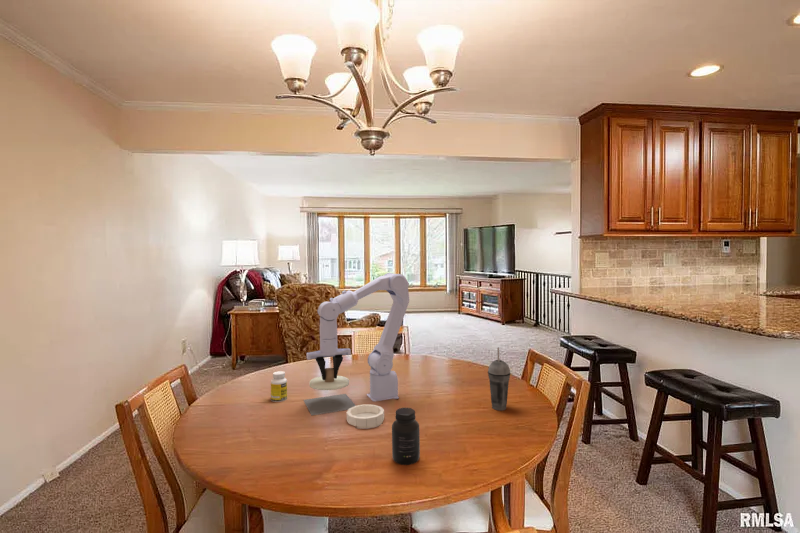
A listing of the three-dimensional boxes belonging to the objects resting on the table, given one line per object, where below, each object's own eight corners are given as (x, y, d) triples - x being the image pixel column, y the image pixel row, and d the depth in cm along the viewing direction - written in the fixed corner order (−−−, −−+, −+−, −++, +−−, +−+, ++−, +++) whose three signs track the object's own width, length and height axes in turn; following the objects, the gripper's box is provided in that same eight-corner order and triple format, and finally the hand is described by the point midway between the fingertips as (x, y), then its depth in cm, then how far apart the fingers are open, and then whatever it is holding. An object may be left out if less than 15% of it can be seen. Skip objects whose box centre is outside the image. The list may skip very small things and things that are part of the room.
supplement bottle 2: (391, 452, 104) (390, 406, 104) (417, 451, 105) (417, 405, 105) (393, 466, 97) (392, 416, 97) (421, 465, 98) (421, 415, 98)
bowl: (376, 411, 132) (376, 402, 131) (389, 424, 121) (388, 414, 121) (343, 417, 127) (342, 407, 127) (353, 431, 117) (353, 420, 117)
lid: (343, 376, 146) (343, 362, 145) (353, 387, 134) (353, 372, 134) (306, 380, 141) (306, 366, 140) (313, 392, 129) (313, 376, 128)
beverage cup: (512, 405, 135) (512, 345, 135) (508, 413, 129) (508, 350, 128) (490, 402, 138) (490, 343, 138) (485, 410, 132) (485, 348, 131)
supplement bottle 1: (282, 404, 139) (282, 375, 139) (268, 403, 140) (267, 374, 140) (290, 398, 145) (289, 370, 144) (275, 397, 146) (275, 370, 145)
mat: (345, 395, 147) (345, 393, 147) (357, 409, 133) (357, 407, 133) (303, 401, 141) (303, 399, 141) (311, 417, 128) (311, 415, 127)
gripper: (346, 333, 143) (347, 372, 144) (304, 337, 137) (305, 377, 138) (352, 337, 137) (353, 378, 137) (308, 341, 131) (309, 383, 131)
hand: (329, 378), depth 137 cm, fingers closed on lid, 3 cm apart
